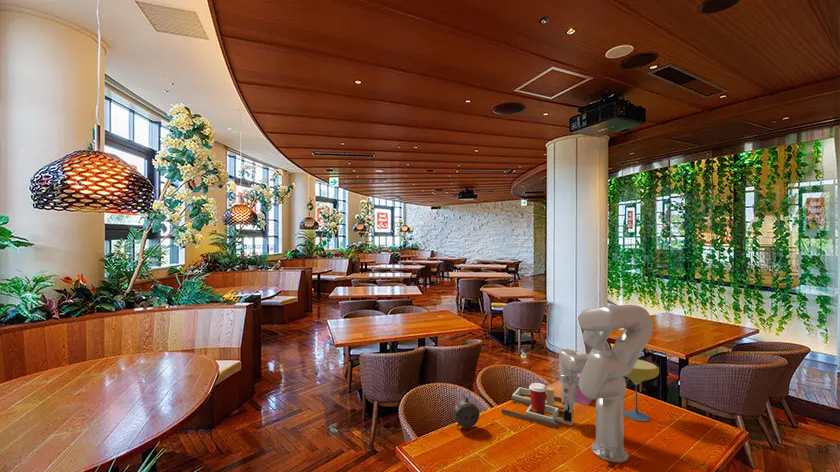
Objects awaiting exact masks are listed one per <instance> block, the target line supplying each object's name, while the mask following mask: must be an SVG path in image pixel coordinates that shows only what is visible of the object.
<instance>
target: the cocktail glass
mask: <svg viewBox="0 0 840 472" xmlns="http://www.w3.org/2000/svg"><path fill="white" fill-rule="evenodd" d="M659 374H660V366H659V365H658V363H656V362H654V361H652V360H649V359H646V358H641V357H639V358H638V360H637V362H636V363H635V365H634V367H633V369H632V371H631V372H630V373H629V374H628V375H626V376H625V377H626V378H628V379H630V381H631V382H632V383H633V384H634V385H635V404H634V405H635V408H634V410H633V409H627V410H623V416H624V417H625V418H627V419H630V420H632V421H635V422H640V423H646V422H650V421H651V417H650V415H648V414H647V413H645V412H642V411H639V410H638V409H639V408H638V385H639V384H641V383H642V382H645V381H648V380H649V381H650V380H652V379H655V378H656V377H658V376H659Z"/></svg>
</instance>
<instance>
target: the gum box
mask: <svg viewBox="0 0 840 472" xmlns="http://www.w3.org/2000/svg"><path fill="white" fill-rule="evenodd" d="M580 375H581V374H577V384H576V397H577V400H576V403H577V404H581V405H583V406H584V405H586V406H589V405H590V404H591V402H593V400H594V399H589V398H587V397H585V396H584V395H583V394H582V393H581V391H580V388H579V378H580Z"/></svg>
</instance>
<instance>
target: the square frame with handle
mask: <svg viewBox="0 0 840 472" xmlns="http://www.w3.org/2000/svg"><path fill="white" fill-rule="evenodd" d="M546 389H547V390H546V398H547V399H546V400H545V405H548V406H552V407H555V406H554V405H555V401H554V396H555V388H554V387H547V388H546ZM526 394H529V395H531V394H530V388H525V387H522V386H521V387H520V386H519V387H518V388H517V389H516V390H515V391H514V392H513V393H512V395H511V398H515V399H519V400H523V401H527V402H531V397H526V396H527V395H526ZM521 395H525V397H524V396H521Z"/></svg>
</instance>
